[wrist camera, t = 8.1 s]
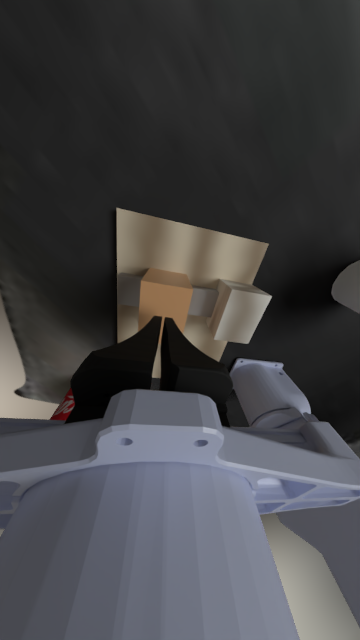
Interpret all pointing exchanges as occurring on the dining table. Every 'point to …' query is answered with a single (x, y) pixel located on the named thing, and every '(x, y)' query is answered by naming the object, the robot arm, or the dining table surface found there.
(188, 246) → the mounting panel
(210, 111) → the dining table surface
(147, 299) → the block
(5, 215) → the dining table surface
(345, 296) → the foam cup
